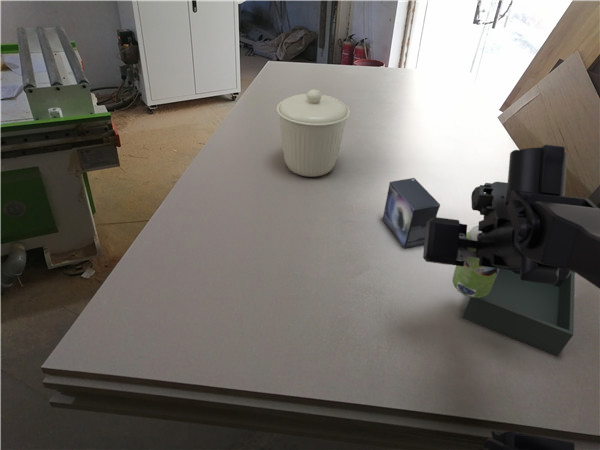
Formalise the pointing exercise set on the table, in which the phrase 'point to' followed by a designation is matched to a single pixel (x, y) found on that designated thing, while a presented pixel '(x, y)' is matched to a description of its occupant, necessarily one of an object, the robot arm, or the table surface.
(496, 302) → the open square box
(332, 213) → the table surface
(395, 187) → the small box
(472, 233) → the beverage can
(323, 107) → the canister
